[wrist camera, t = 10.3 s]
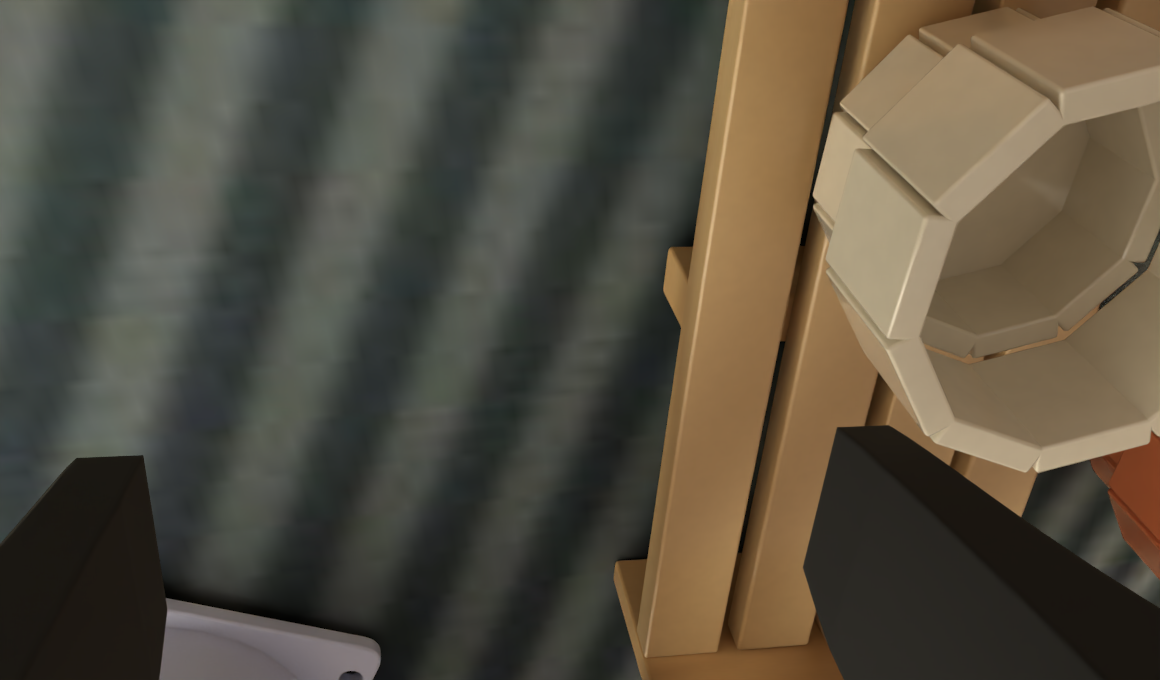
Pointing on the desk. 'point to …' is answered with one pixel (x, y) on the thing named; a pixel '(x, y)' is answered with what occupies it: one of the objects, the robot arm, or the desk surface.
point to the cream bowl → (1006, 231)
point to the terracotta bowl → (1135, 496)
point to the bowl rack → (774, 353)
